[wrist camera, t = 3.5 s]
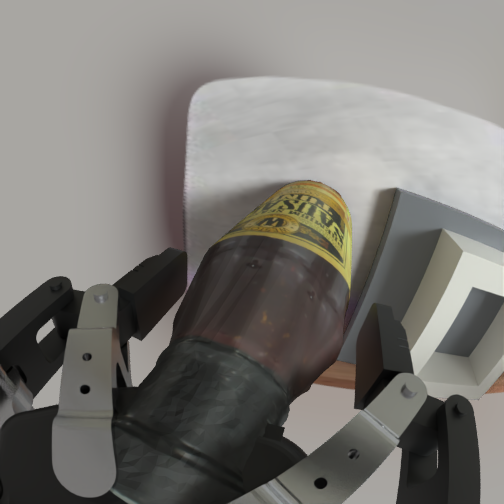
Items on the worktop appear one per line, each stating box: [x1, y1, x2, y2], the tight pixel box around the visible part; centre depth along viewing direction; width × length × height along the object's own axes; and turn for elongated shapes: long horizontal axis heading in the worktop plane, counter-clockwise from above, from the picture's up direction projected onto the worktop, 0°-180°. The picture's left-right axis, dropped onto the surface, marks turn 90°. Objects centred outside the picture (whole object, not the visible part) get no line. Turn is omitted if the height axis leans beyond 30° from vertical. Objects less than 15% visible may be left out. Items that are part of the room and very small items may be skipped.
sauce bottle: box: [113, 180, 352, 504], centre depth 12 cm, size 7×6×20 cm
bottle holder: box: [337, 188, 504, 400], centre depth 16 cm, size 20×16×6 cm
